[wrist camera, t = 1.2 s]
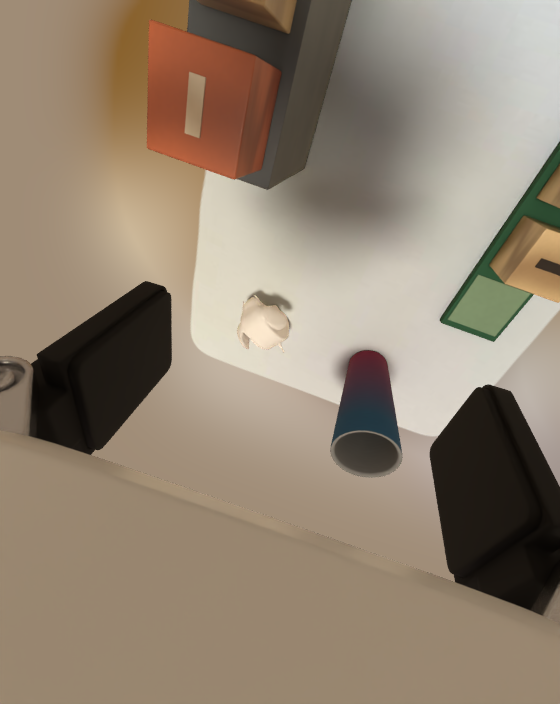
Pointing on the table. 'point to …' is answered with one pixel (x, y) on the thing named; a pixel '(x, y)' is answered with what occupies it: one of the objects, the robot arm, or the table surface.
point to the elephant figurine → (262, 325)
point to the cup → (367, 420)
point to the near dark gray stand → (281, 65)
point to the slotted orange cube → (208, 102)
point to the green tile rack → (515, 262)
